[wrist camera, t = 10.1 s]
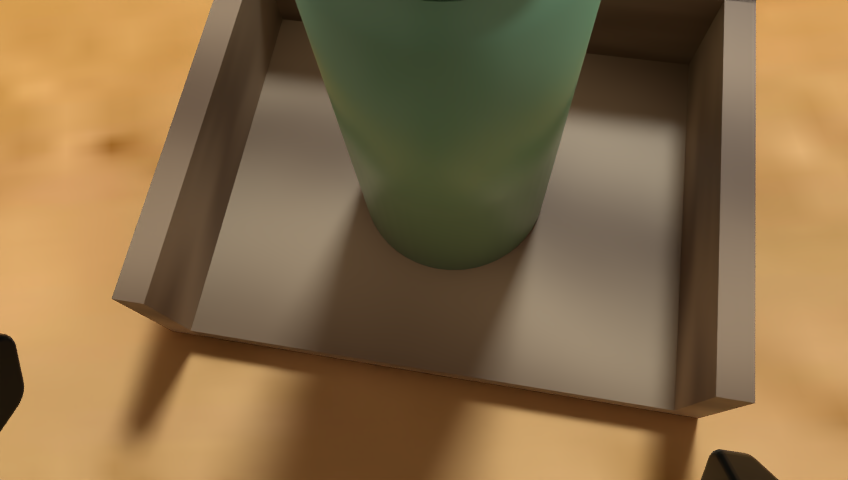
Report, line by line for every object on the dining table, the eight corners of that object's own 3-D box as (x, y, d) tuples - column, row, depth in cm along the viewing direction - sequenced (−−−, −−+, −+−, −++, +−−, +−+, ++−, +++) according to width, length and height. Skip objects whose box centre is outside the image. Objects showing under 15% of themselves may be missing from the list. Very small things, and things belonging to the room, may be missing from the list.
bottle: (450, 308, 18) (420, -105, 5) (329, 183, 19) (82, -369, 7) (581, 187, 19) (819, -401, 6) (457, 77, 20) (448, -575, 8)
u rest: (698, 418, 17) (755, 403, 14) (172, 330, 19) (111, 298, 15) (709, 52, 21) (755, -27, 18) (271, 4, 23) (239, -77, 19)
